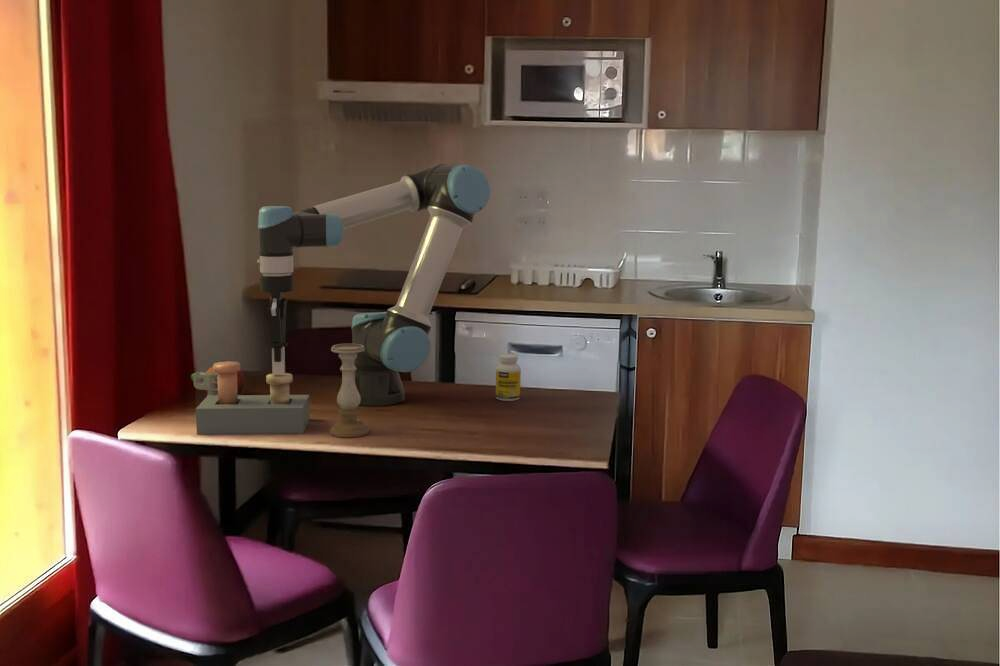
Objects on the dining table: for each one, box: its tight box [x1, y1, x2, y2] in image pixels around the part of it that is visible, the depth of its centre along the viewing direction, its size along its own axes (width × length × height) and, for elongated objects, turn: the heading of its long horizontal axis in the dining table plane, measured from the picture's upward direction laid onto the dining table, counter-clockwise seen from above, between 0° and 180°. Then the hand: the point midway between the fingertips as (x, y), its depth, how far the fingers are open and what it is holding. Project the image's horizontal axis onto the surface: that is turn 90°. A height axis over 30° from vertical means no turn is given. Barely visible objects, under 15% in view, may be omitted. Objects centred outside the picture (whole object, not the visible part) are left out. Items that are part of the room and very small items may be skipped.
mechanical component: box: [190, 371, 218, 397], centre depth 250 cm, size 3×10×10 cm, turn 78°
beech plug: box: [265, 372, 294, 404], centre depth 239 cm, size 6×6×10 cm
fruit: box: [206, 359, 246, 395], centre depth 266 cm, size 11×10×10 cm
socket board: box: [195, 394, 311, 435], centre depth 239 cm, size 24×13×6 cm, turn 94°
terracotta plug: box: [212, 360, 241, 404], centre depth 237 cm, size 6×6×10 cm
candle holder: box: [329, 343, 369, 438], centre depth 233 cm, size 9×9×20 cm
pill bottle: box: [495, 353, 522, 402], centre depth 269 cm, size 6×6×12 cm
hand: (278, 374), depth 238 cm, fingers closed
